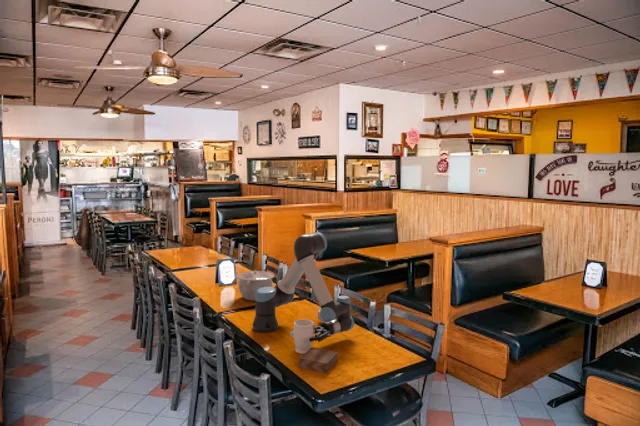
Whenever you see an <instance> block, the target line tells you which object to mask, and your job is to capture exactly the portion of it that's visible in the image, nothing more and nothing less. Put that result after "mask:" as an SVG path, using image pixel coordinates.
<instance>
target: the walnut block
mask: <svg viewBox="0 0 640 426" xmlns="http://www.w3.org/2000/svg"><path fill="white" fill-rule="evenodd" d="M338 354H339V353H338V352H337V351H333V350H332V351H331V350H327V349H323V348H322V349H321V348H316V347H311V348H310V349H309V350H308V351H307V352H306V353H305V354H302V355H301V356H300V357H299V358H298V360H299V363H298V364H299V366H298V367H299V368H300V369H304V370H311V371H315V372H318V373H325V374H327V373H328V372H329V371H330V370H331V369H332V368H333V367H334V366H335V365H336V363H338V361H339V360H338V357H339V355H338Z"/></svg>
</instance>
